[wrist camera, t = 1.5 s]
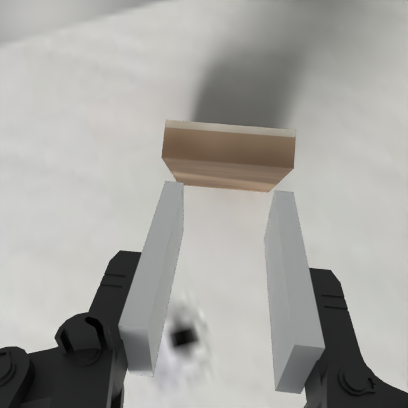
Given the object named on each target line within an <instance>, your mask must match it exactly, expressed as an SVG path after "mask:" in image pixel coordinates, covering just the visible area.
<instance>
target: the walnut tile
mask: <svg viewBox="0 0 408 408" xmlns="http://www.w3.org/2000/svg"><path fill="white" fill-rule="evenodd" d="M295 138H296V130H292V129H279V128H266V127H253V126H240V125H227V124H214V123H201V122H188V121H175V120H166V122H165V131H164V141H163V150H162V159H163V160H164V162H165V163H166V165H167V167H168V168H169V170H170V171H171V173H172V174H173V176H174V177H175V179H176V181H177V182H181V183H184V184H183V185H188V186H200V187H212V188H223V189H235V190H246V191H258V192H269V191H270V190H271V189H272V188H273V187H274V186H276V185H277V184H278V183H279V182H280V181H281V180H282V179H283V178H284V177H285V176H286V175H287V174H288V173H289V172H290V171H291V170H292V169H293V168H294V154H295Z"/></svg>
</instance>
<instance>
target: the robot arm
mask: <svg viewBox="0 0 408 408" xmlns="http://www.w3.org/2000/svg"><path fill="white" fill-rule="evenodd" d="M183 184H184V183H181V182H170V181H165V184H164V187H163V190H162V193H161V196H160V199H159V202H158V205H157V208H156V211H155V214H154V217H153V220H152V223H151V226H150V229H149V233H148V236H147V239H146V242H145V245H144V248H143V251H142V252H131V251H121V250H120V251H119V252H118V253H117V254H116V255H115V256H114V257H113V258H112V259H111V260H110V262H109V264H108V266H107V269H106V271H105V275H104V276H103V278H102V281H101V283H100V286H99V288H98V290H97V293H96V295H95V297H94V300H93V302H92V304H91V307H90V309H89V312H86V313H81V314H77V315H75V316H73V317H71V318H69V319H68V320H66V321H65V322H64V323H63V324H62V325H61V326H60V327H59V329H58V331H57V333H56V335H55V337H54V338H55V340H56V342H57V344H58V346H59V347H56V348H52V349H48V350H43V351H38V352H34V353H29V354H27V353H26V352H25V350H24V349H21V348H19V347H17V346H15V347H4V348H1V349H0V408H123V402H124V384H123V382H124V378H125V375H126V371H127V367H128V372H129V374H132V375H141V376H150V377H153V376H154V371H155V366H156V361H157V357H158V352H159V347H160V342H161V337H162V332H163V328H164V323H165V318H166V313H167V308H168V303H169V298H170V294H171V289H172V284H173V279H174V274H175V269H176V265H177V260H178V255H179V250H180V245H181V240H182V236H183ZM264 244H265V258H266V271H267V285H268V298H269V312H270V326H271V339H272V353H273V367H274V380H275V391H280V392H289V393H298V394H301V392H302V390H303V388H304V387H305V392H306V399H307V403H306V405H305V406H304V408H408V393H407V392H404V391H402V390H400V389H397V388H395V387H393V386H391V385H389V384H387V383H385V382H383V381H382V380H380V379H379V378H378V377H377V376H375V375H374V373H373V372H372V370H371V369H370V368H369V367H367V365H366V364H365V362H364V360H363V358H362V355H361V353H360V349H359V346H358V342H357V339H356V335H355V332H354V328H353V325H352V321H351V318H350V315H349V311H348V310H347V309H348V308H347V304H346V301H345V299H344V294H343V290H342V287H341V283H340V282H339V280H338V279H337V278H336V276H335V275H334V274H333V272H332V271H331V270H325V269H315V268H309V267H308V262H307V257H306V252H305V247H304V242H303V237H302V232H301V228H300V223H299V218H298V213H297V208H296V203H295V198H294V193H293V192H285V191H274V195H273V200H272V204H271V209H270V214H269V218H268V223H267V227H266V232H265V237H264Z"/></svg>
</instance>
